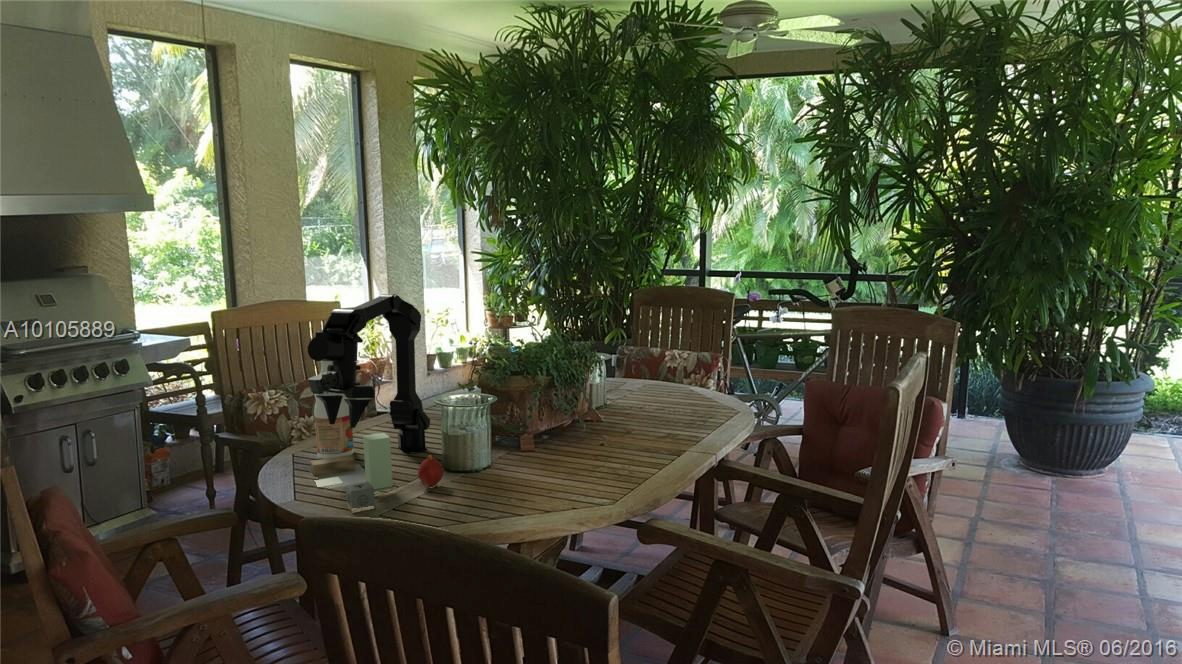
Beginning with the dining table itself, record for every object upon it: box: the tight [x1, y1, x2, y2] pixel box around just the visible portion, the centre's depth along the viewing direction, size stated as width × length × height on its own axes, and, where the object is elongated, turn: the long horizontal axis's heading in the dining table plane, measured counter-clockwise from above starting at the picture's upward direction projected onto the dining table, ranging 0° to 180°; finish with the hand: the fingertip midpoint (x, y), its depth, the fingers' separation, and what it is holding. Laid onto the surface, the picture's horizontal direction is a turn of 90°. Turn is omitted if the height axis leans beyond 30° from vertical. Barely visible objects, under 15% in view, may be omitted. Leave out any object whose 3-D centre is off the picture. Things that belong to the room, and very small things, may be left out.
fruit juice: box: [313, 361, 355, 459], centre depth 220 cm, size 9×9×28 cm
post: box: [362, 432, 394, 492], centre depth 194 cm, size 5×5×13 cm
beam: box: [309, 454, 356, 477], centre depth 206 cm, size 10×4×3 cm, turn 119°
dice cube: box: [345, 482, 376, 508], centre depth 183 cm, size 5×5×5 cm
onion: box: [417, 454, 444, 488], centre depth 196 cm, size 6×6×8 cm
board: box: [314, 463, 366, 490], centre depth 202 cm, size 14×16×1 cm
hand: (342, 426), depth 199 cm, fingers open, 9 cm apart
